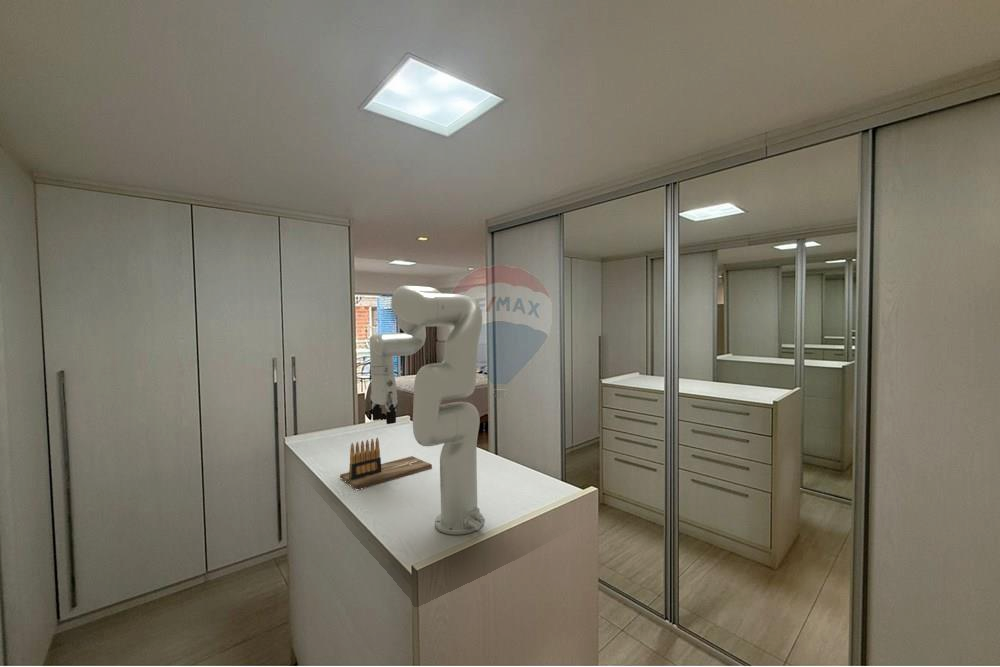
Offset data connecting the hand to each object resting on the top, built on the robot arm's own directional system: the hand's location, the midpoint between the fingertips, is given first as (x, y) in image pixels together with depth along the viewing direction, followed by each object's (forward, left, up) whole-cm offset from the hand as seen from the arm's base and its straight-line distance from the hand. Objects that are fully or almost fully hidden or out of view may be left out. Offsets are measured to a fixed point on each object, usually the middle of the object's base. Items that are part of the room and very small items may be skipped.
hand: (384, 421), depth 138 cm
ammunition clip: (+5, +5, -19) cm, 20 cm away
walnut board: (+5, -4, -20) cm, 21 cm away
